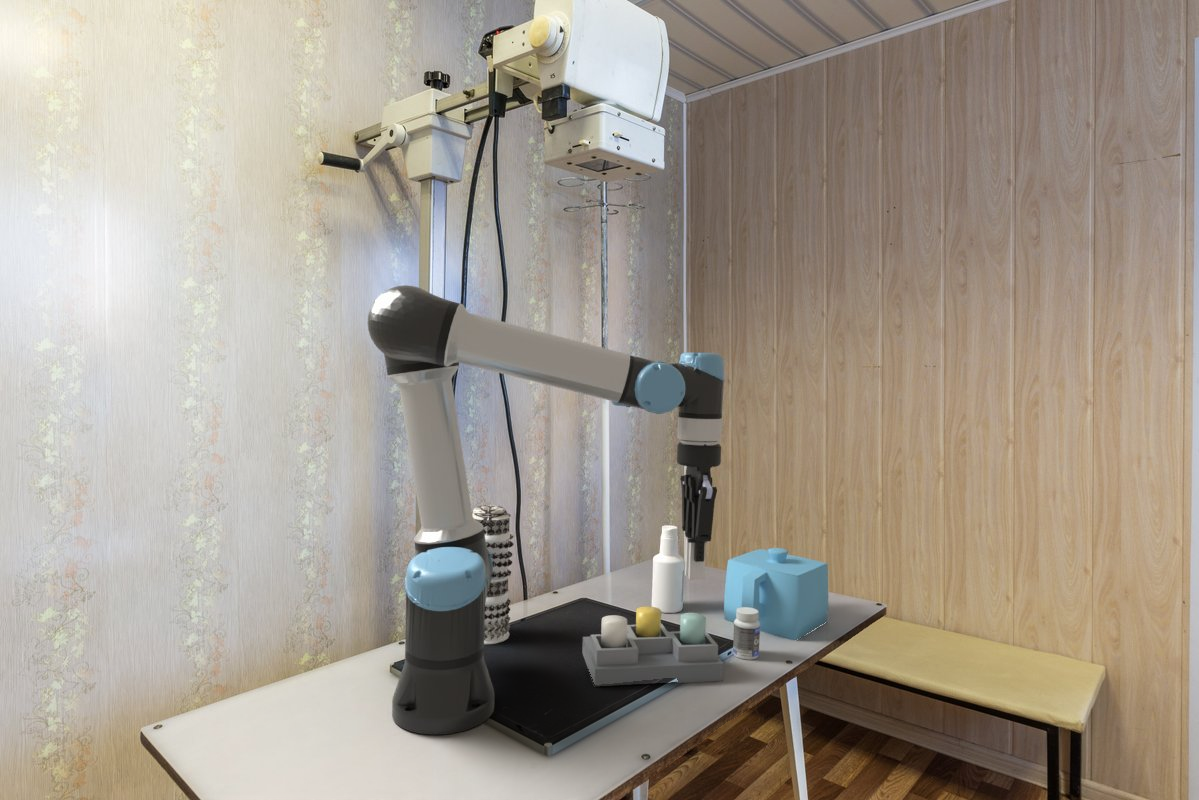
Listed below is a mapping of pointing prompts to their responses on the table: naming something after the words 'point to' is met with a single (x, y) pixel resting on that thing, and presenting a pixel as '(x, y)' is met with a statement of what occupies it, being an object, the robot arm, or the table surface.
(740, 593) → the container
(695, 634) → the button teal
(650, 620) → the button mustard
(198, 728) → the table surface
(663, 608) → the spray bottle
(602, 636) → the button ivory
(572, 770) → the table surface
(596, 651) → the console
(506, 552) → the decorative candle
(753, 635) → the pill bottle
